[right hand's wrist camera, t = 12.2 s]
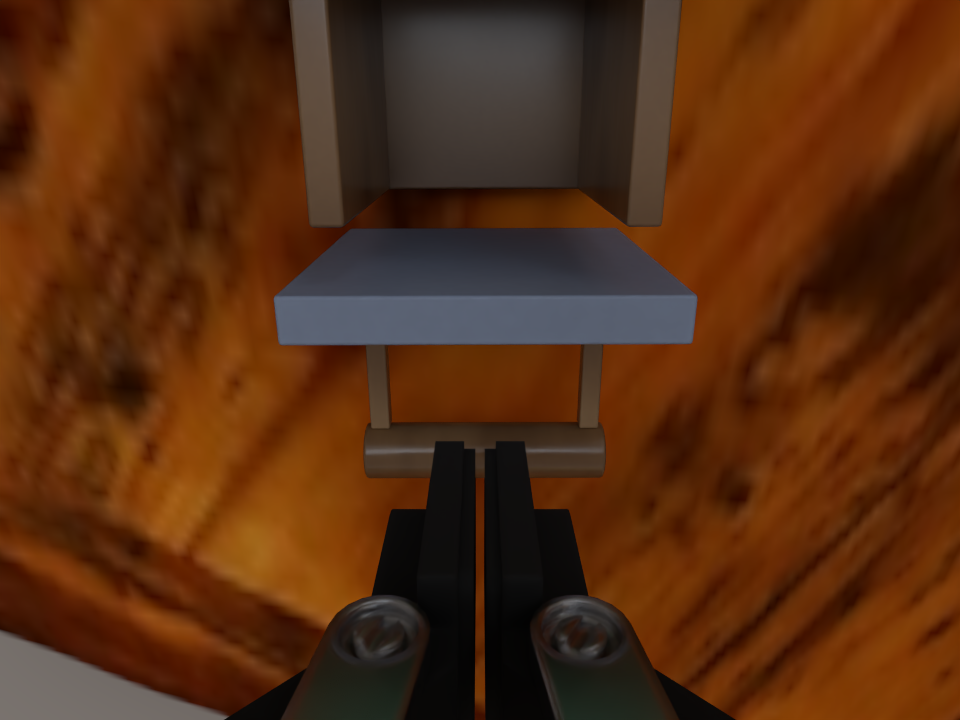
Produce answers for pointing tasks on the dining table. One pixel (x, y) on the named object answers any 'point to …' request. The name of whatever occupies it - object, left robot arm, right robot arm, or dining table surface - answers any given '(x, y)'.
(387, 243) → the drawer
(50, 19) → the dining table surface
